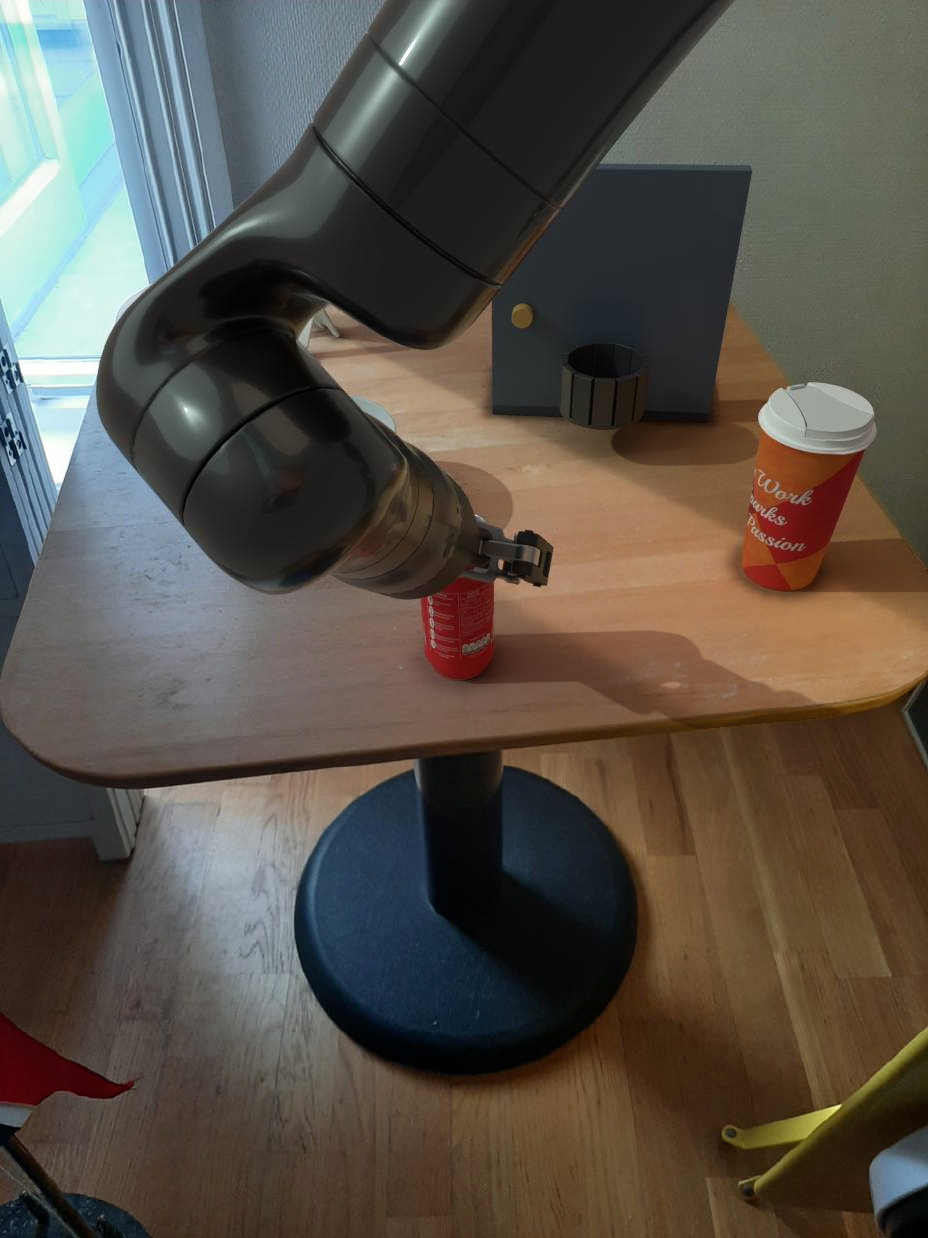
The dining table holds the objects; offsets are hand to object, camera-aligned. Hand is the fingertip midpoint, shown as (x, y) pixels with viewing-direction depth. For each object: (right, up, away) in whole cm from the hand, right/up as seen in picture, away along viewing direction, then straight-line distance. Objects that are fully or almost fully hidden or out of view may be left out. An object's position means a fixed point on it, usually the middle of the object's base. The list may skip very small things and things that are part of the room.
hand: (456, 558), depth 63 cm
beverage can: (0, -7, +7) cm, 10 cm away
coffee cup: (+27, 0, +14) cm, 30 cm away
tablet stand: (-19, +29, +46) cm, 58 cm away
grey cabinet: (+14, +17, +32) cm, 39 cm away
